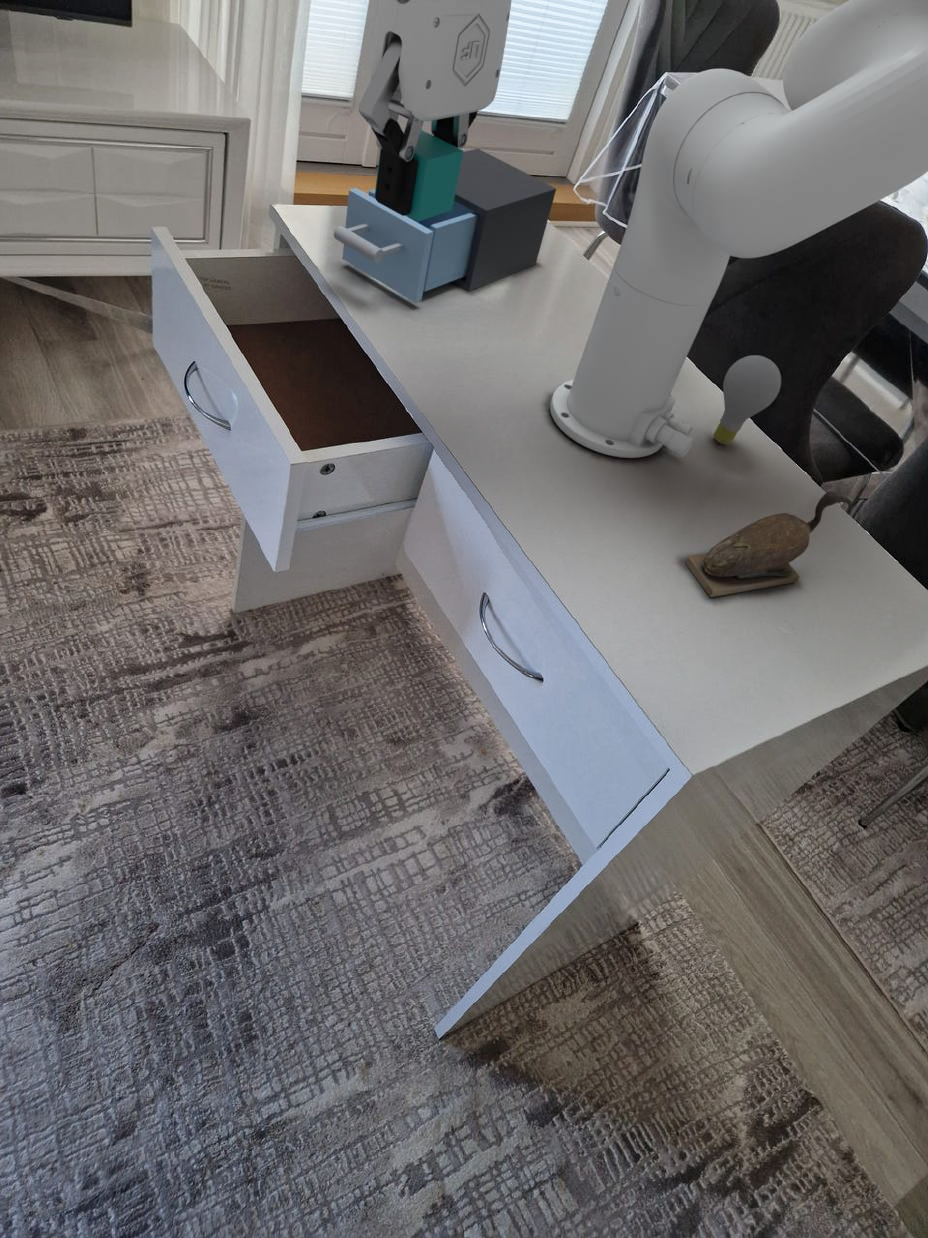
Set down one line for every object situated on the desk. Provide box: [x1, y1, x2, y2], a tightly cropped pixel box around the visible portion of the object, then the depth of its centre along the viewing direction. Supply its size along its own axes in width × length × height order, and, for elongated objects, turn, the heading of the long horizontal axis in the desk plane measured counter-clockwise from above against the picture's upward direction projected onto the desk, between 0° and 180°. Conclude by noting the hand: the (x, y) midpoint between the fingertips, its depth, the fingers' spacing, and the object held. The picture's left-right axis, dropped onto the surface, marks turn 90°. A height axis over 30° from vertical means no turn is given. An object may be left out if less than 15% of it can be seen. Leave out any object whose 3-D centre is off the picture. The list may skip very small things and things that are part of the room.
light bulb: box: [713, 354, 782, 445], centre depth 84 cm, size 5×6×10 cm
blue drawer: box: [333, 187, 480, 303], centre depth 93 cm, size 18×11×8 cm, turn 141°
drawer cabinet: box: [451, 148, 557, 292], centre depth 101 cm, size 15×13×10 cm
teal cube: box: [374, 129, 464, 221], centre depth 63 cm, size 4×4×4 cm
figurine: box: [684, 491, 853, 598], centre depth 71 cm, size 14×4×9 cm, turn 112°
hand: (413, 199), depth 65 cm, fingers closed on teal cube, 4 cm apart
